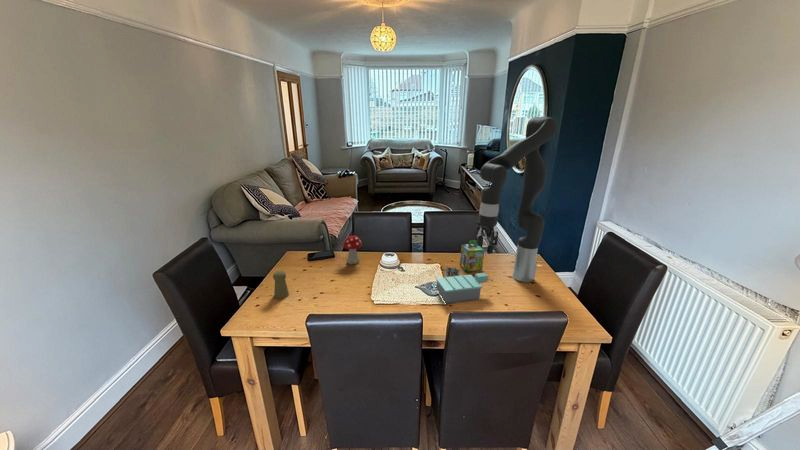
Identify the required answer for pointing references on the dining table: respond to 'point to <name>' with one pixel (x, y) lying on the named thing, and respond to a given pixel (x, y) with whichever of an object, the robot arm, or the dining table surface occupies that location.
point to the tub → (459, 295)
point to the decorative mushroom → (352, 249)
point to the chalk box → (471, 256)
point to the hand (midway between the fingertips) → (484, 249)
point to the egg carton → (452, 271)
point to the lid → (462, 282)
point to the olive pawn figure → (280, 285)
